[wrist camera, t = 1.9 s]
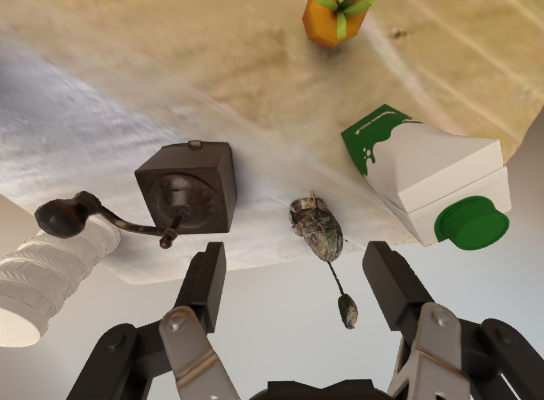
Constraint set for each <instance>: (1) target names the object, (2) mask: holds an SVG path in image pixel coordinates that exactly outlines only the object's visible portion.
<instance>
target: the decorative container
mask: <svg viewBox="0 0 544 400" xmlns="http://www.w3.org/2000/svg"><path fill="white" fill-rule="evenodd" d="M120 240H121V236H120V232H119V230H118V228H117V227H116V226H115V225H113V224H112V223H110V222H109V221H108V220H106V219H105V218H104V217H103V216H102V215H100V214H97V215H92V216H89V218H88V220H87V221H86V225H85V229H84V230H83V231H82V232H81V233H80V234H78V235H76V236H74V237H71V238H67V239H62V238H58V237H55V236H52V235H49V234H47V233H46V232H44V231H43V230H40V231H39V232H38V233H37V235H36V236H35V237H32V238H30V239H28V240H27V241H26V242H24V244H22V245H21V246H20V247H19V249H18V251H16V252H13V253H11V254H9V255H7V256H6V257H3V259H2V260H0V346H2V347H25V346H30V345H32V344H35V343H37V342H38V341H39V339H40V338H41V337H42V336H43V334H44V333H45V332H46V331H47V329H48V323H47V321H48V320H49V319H50V318H51V317H53V316H54V315H55V314H57V313H58V312H59V311H60V310H61V308H62V306H63V304H64V301H65V300H66V299H67V298H68V297H70V296H71V295H72V294H74V293H75V292H76V290H77V288H78V286H79V284H80V282H81V281H82V280H84V279H85V278H87V276H89V274H90V273H91V271H92V269H93V266H95V265H96V264H98V263H99V262H100V261H101V260H102V258H103V256H105V255H108V254H110V253H112V252H113V251H114V250H115V249H116V247H117V246H118V245H119V244H120Z"/></svg>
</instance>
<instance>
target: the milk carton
mask: <svg viewBox="0 0 544 400" xmlns="http://www.w3.org/2000/svg"><path fill="white" fill-rule="evenodd" d="M341 135H342V137H343V139H344V141H345V143H346V146H347V148H348V150H349V153H350V155H351V157H352V159H353V161H354V163H355V165H356V167H357V168H358V170H359V172H360V173H361V175H362V176H363V178H364V179H365V180H366V181H367V183H368V184H369V185H370V186H371V187H372V189H373V190H374V191H375V192H376V194H377V195H378V196H379V197H380V198H381V200H382V201H383V202H384V203H385V204H386V206H387V207H388V208H389V209H390V210H391V211H392V212H393V213H394V214H395V216H396V217H397V218H398V219H399V220H400V221H401V222H402V223H403V225H404V226H405V227H406V228H407V229H408V230H409V231H410V233H411V234H412V235H413V236H414V237H415V238H416V239H417V240H418V241H419V242H420V243H421V244H422V245H423V246H424V247H428V246H430V245H432V244H434V243H436V242H441V241H444V240H445V239H448V238H449V239H450V240H451V241H452V242H453V243H454V244H455V245H456V246H457V247H459V248H460V249H463V250H477V249H481V248H484V247H487V246H489V245H491V244H493V243H494V242H496V241H497V240H499V239H500V238H501V237H502V236H503V235H504V234H505V233H506V231H507V230H508V227H509V219H508V218H507V216H506V215H504V214H503V213H506V212H508V211H510V210H511V209H512V208H511V201H510V194H509V187H508V179H507V176H508V172H507V167H506V165H505V164H503V159H502V153H501V147H500V142H499V140H496V139H487V138H477V137H467V136H458V135H453V134H450V133H448V132H445V131H443V130H440V129H438V128H435V127H433V126H430V125H428V124H425V123H423V122H420V121H418V120H415V119H413V118H411V117H409V116H407V115H405V114H403V113H401V112H399V111H397V110H395V109H393V108H392V107H390V106H388V105H386V104H384V105H383V106H381V107H380V108H378V109H377V110H375V111H374V112H372V113H371V114H369V115H368V116H366V117H365V118H363V119H362V120H360V121H359V122H357V123H356V124H354V125H353V126H351V127H350V128H348V129H347V130H345V131H344V132H342V133H341Z"/></svg>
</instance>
